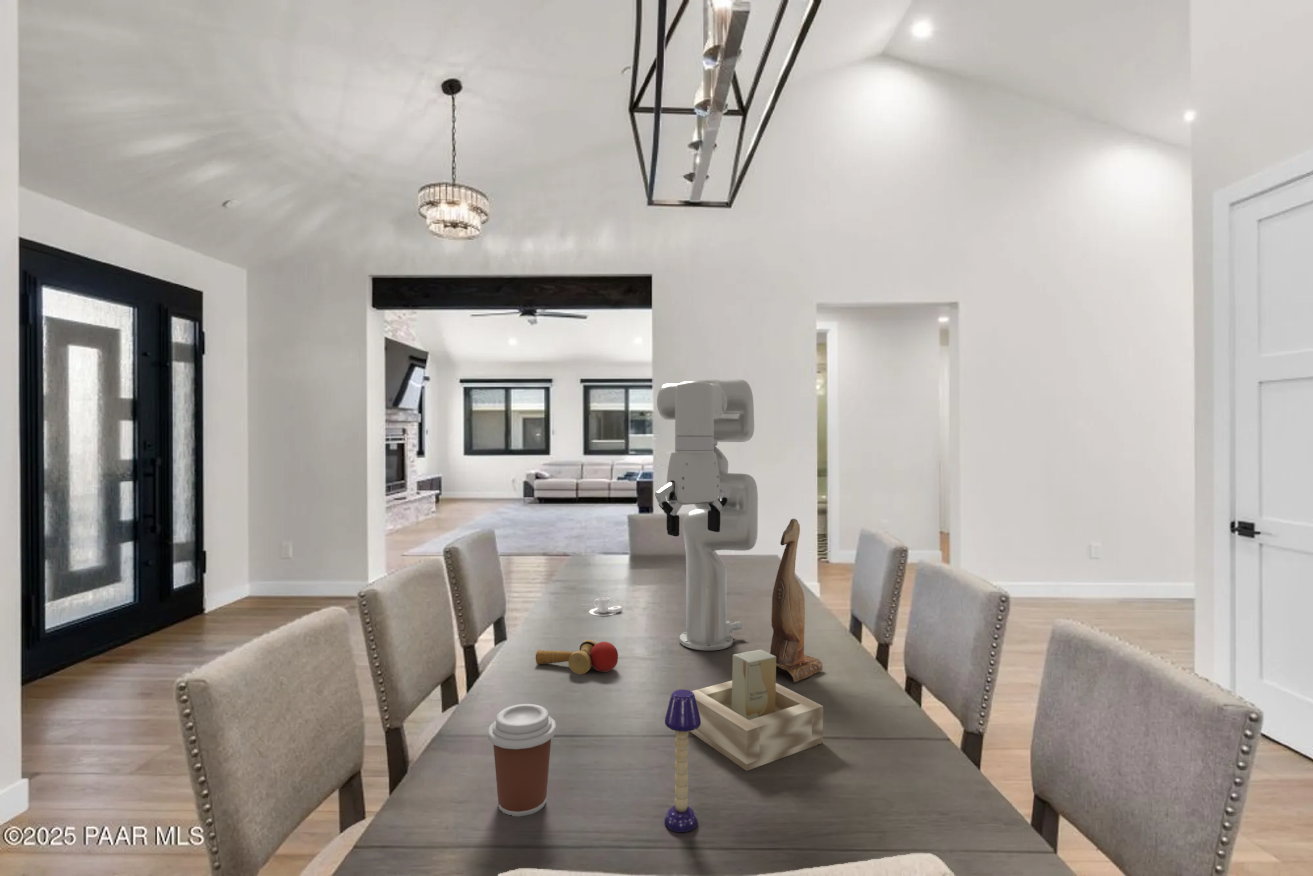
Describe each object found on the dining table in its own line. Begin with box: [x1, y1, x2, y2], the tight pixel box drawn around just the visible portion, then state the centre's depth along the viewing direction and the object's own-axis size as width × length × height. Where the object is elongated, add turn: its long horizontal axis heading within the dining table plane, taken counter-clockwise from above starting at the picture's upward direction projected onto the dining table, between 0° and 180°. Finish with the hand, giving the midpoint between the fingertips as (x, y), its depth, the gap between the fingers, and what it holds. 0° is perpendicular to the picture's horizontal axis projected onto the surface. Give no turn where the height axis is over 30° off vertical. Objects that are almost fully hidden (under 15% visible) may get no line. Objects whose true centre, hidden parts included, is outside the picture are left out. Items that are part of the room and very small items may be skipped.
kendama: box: [535, 639, 619, 675], centre depth 136 cm, size 8×6×18 cm
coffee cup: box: [487, 703, 557, 818], centre depth 87 cm, size 9×9×12 cm
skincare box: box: [731, 648, 777, 720], centre depth 107 cm, size 6×4×12 cm
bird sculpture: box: [770, 518, 824, 683], centre depth 135 cm, size 11×12×32 cm
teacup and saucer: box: [588, 596, 623, 617], centre depth 177 cm, size 9×8×4 cm
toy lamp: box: [664, 688, 701, 833], centre depth 83 cm, size 5×5×17 cm
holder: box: [689, 680, 824, 772], centre depth 106 cm, size 16×16×6 cm
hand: (693, 533), depth 125 cm, fingers open, 9 cm apart
